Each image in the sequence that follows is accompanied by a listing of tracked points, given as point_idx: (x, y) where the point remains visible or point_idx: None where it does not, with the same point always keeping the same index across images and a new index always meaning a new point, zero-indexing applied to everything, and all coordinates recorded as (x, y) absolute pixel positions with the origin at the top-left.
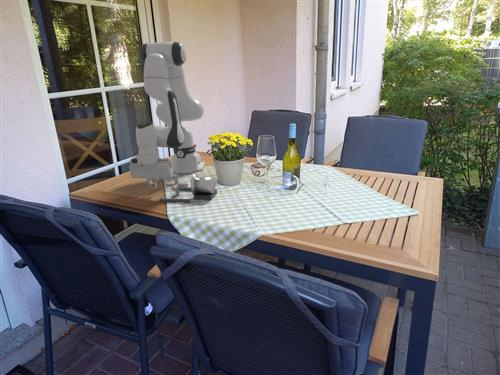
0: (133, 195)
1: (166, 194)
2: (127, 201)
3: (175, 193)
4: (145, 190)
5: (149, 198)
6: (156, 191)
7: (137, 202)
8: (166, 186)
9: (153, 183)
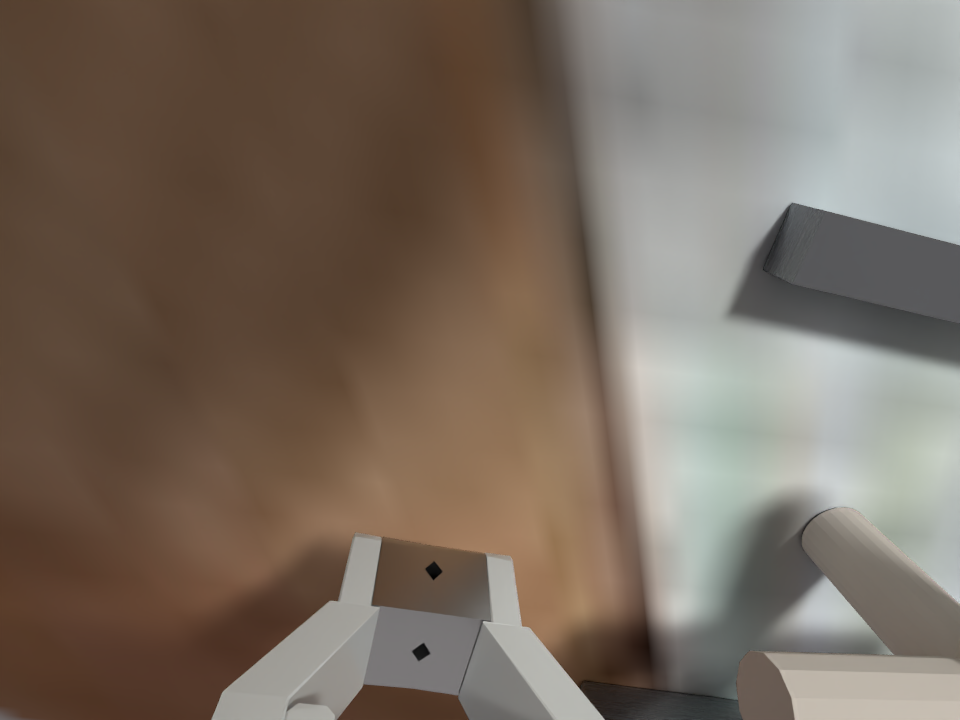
0: (4, 447)
1: (644, 467)
2: (71, 670)
3: (828, 577)
4: (108, 169)
5: None
6: (410, 280)
7: None
8: (758, 708)
9: (427, 661)
